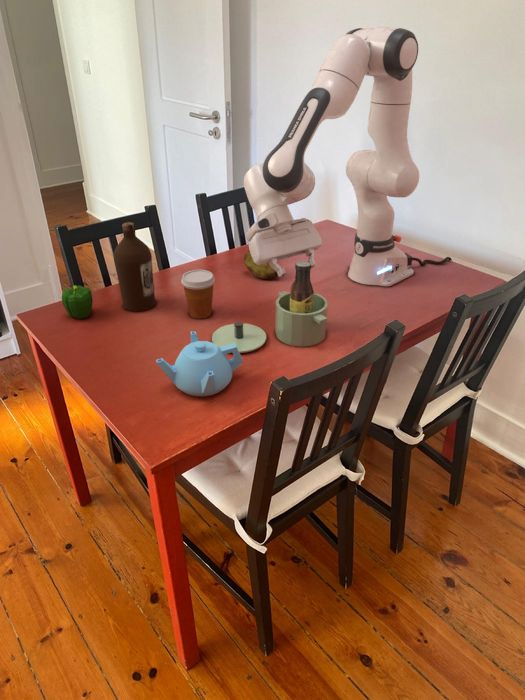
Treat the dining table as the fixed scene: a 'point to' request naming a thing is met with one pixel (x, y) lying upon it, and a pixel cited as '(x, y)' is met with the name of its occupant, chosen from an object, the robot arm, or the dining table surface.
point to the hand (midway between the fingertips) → (297, 271)
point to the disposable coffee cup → (198, 292)
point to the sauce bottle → (302, 289)
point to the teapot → (202, 367)
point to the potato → (259, 268)
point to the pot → (300, 321)
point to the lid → (240, 336)
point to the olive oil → (134, 271)
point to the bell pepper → (77, 301)
